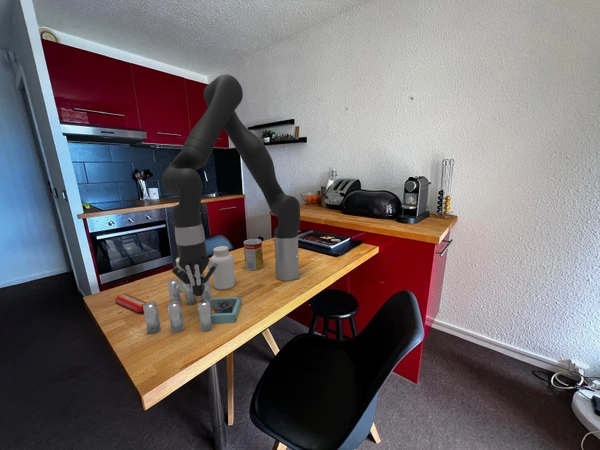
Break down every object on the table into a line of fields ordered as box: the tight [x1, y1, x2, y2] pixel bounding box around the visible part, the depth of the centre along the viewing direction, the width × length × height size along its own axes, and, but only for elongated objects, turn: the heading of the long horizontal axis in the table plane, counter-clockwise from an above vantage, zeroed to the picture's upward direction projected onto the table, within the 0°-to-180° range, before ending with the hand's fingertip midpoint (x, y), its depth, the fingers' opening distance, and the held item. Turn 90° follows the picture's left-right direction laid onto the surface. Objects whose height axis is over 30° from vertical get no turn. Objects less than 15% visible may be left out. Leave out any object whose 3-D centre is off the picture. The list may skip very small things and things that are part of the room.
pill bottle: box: [210, 245, 236, 290], centre depth 93 cm, size 8×8×15 cm
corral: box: [209, 296, 242, 324], centre depth 77 cm, size 10×10×2 cm
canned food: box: [243, 238, 264, 271], centre depth 111 cm, size 8×8×12 cm
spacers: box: [143, 278, 214, 335], centre depth 76 cm, size 18×17×8 cm
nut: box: [214, 300, 234, 314], centre depth 77 cm, size 5×6×3 cm
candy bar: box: [114, 293, 148, 313], centre depth 82 cm, size 16×4×3 cm, turn 61°
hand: (199, 295), depth 75 cm, fingers closed
